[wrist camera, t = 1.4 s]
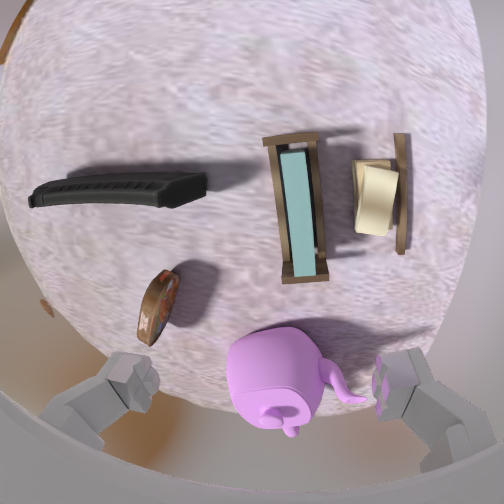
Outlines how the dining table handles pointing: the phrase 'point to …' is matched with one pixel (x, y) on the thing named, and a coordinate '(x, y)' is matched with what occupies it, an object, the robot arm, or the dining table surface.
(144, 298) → the tin
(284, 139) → the rack
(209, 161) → the dining table surface
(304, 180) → the board
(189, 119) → the dining table surface
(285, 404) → the teapot
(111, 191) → the magazine
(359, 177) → the offcut middle
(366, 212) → the offcut top
